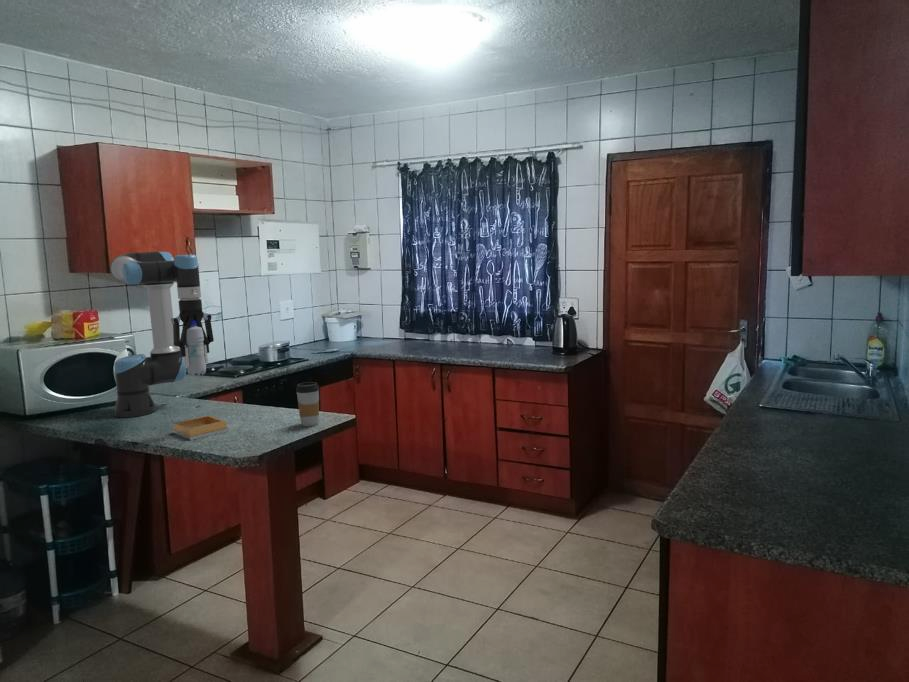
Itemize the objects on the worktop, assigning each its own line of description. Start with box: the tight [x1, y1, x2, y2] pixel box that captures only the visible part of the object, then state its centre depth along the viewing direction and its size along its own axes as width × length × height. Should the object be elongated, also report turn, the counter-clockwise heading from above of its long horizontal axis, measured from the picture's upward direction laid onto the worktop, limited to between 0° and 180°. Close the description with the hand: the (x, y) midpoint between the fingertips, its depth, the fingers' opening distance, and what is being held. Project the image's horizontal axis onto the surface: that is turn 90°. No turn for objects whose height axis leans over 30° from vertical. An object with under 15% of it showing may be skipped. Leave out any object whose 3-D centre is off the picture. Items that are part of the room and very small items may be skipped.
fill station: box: [172, 415, 230, 441], centre depth 237 cm, size 15×14×4 cm
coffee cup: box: [295, 381, 320, 427], centre depth 241 cm, size 8×8×15 cm
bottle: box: [185, 320, 207, 377], centre depth 233 cm, size 7×7×20 cm
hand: (196, 363), depth 234 cm, fingers closed on bottle, 6 cm apart
